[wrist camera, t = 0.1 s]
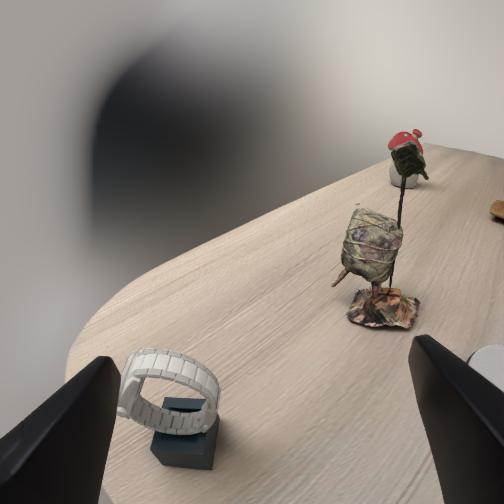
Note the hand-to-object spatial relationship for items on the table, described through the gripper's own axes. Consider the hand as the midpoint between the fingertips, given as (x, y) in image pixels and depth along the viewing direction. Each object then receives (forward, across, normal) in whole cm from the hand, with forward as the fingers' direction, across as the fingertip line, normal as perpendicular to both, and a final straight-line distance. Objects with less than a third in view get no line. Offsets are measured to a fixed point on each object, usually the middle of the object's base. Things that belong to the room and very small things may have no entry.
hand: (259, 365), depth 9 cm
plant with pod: (+24, -12, +18) cm, 33 cm away
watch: (+7, +8, +19) cm, 21 cm away
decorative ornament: (+70, -35, +18) cm, 80 cm away
